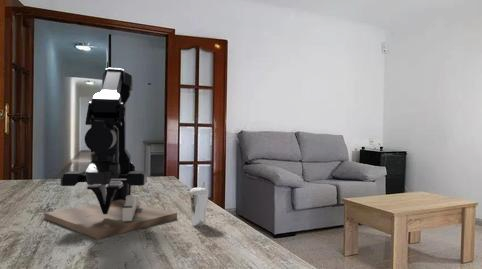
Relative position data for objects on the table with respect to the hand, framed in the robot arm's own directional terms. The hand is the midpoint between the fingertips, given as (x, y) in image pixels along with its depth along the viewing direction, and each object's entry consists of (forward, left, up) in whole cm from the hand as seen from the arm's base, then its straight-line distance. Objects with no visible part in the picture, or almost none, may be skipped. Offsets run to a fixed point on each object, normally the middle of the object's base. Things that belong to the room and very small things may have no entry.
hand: (105, 213), depth 83 cm
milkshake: (-15, +17, -3) cm, 23 cm away
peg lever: (-6, +2, 0) cm, 6 cm away
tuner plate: (-4, -3, -2) cm, 6 cm away
